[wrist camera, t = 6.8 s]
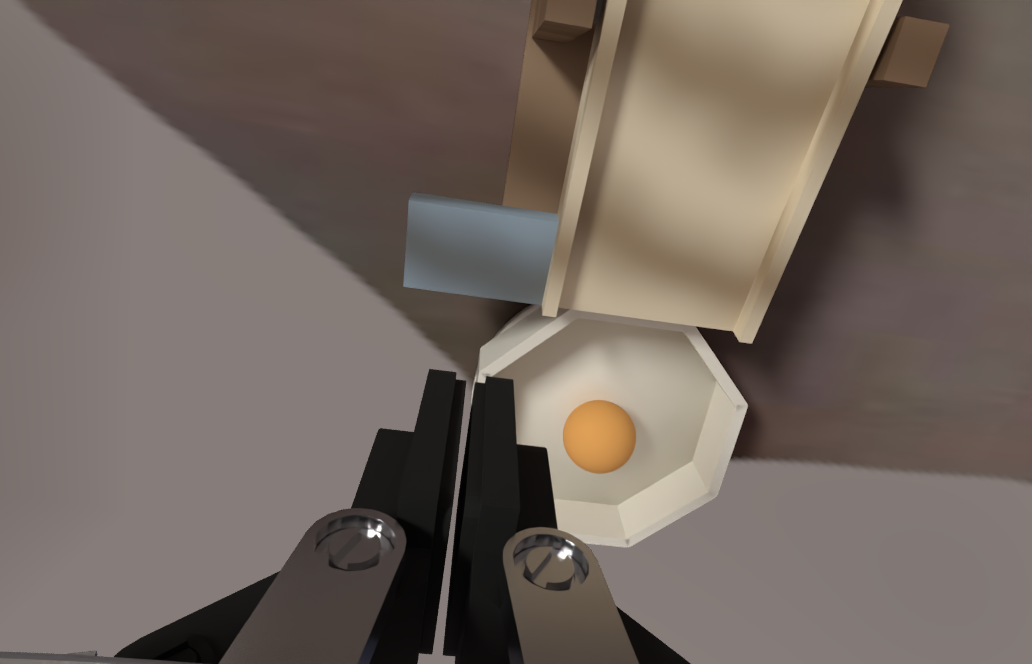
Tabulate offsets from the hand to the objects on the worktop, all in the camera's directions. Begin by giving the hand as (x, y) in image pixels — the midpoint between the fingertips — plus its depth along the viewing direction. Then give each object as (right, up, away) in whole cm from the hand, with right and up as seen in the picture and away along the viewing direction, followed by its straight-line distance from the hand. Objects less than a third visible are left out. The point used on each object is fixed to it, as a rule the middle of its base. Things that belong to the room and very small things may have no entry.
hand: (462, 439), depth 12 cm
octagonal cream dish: (+6, -2, +24) cm, 25 cm away
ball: (+6, -4, +21) cm, 22 cm away
